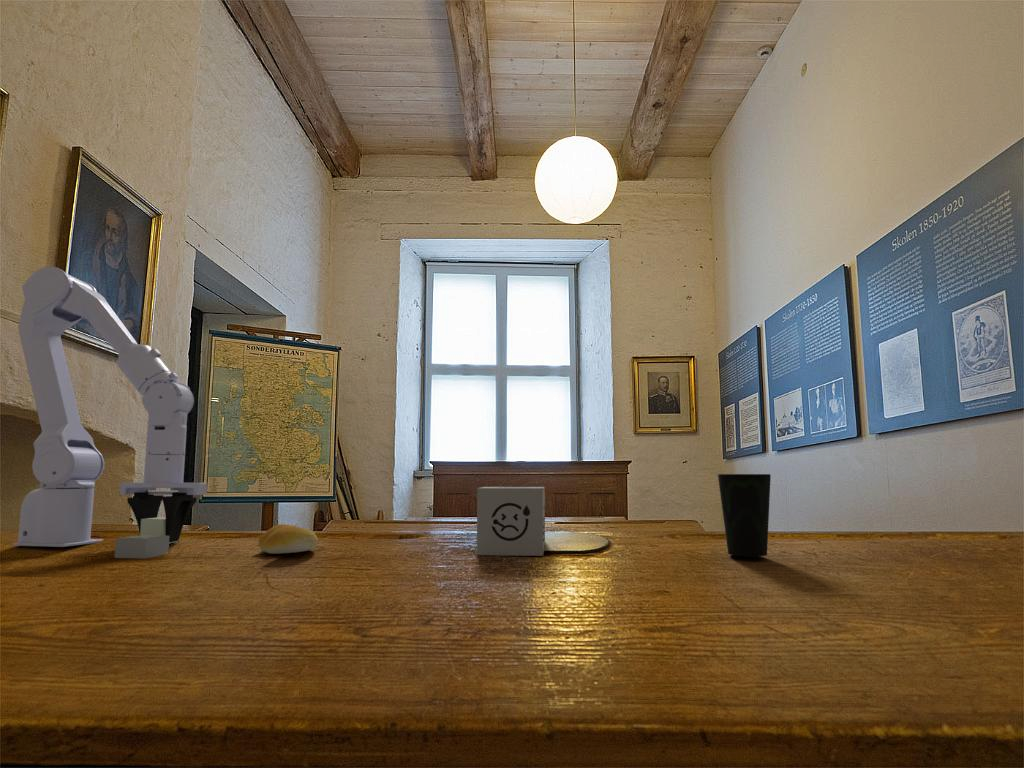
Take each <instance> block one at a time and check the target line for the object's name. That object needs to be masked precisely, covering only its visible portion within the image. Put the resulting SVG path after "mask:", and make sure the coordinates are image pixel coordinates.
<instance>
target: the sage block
mask: <svg viewBox="0 0 1024 768" xmlns="http://www.w3.org/2000/svg"><path fill="white" fill-rule="evenodd" d="M165 532H166V516H164V517H162V516H159V517H158V516H157V518H146V519H141V530H140V533H139V535H162V536H166V535H165ZM180 537H181V536H180ZM180 537H179V539H180ZM174 542H176V541H174ZM170 543H173V542H169V544H170Z"/></svg>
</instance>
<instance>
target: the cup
mask: <svg viewBox="0 0 1024 768" xmlns="http://www.w3.org/2000/svg"><path fill="white" fill-rule="evenodd" d="M771 477H772V476H771V474H770V473H766V474H765V473H759V474H758V473H745V474H744V473H736V474H735V473H725V474H724V473H718V474H717V479H718V486H719V488H718V489H719V495H720V501H721V511H722V517H723V525H724V530H725V532H724V533H725V540H726V547H727V554H728V555H731V556H737V557H739V556H740V557H766V556H767V555H768V545H769V544H768V542H769V541H768V538H769V520H770V519H769V518H770V517H769V516H770V498H771V497H770V496H771Z"/></svg>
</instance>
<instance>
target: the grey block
mask: <svg viewBox="0 0 1024 768" xmlns="http://www.w3.org/2000/svg"><path fill="white" fill-rule="evenodd" d="M169 548H170V545H169V536H162V535H140V534H139V535H137V534H136V535H131V536H123V537H117V538H115V547H114V558H116V559H150V558H156V556H157V557H160V556H159V555H161V554H163V553H166V552H168V551H170V550H169ZM168 553H169V552H168Z"/></svg>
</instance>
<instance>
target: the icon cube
mask: <svg viewBox="0 0 1024 768" xmlns="http://www.w3.org/2000/svg"><path fill="white" fill-rule="evenodd" d="M476 490H477V491H476V556H526V557H527V556H528V557H529V556H532V557H534V556H535V557H539V556H541V557H542V556H544V554H545V553H544V552H545V545H546V495H545V494H546V487H545V486H483V487H477V488H476Z"/></svg>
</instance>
